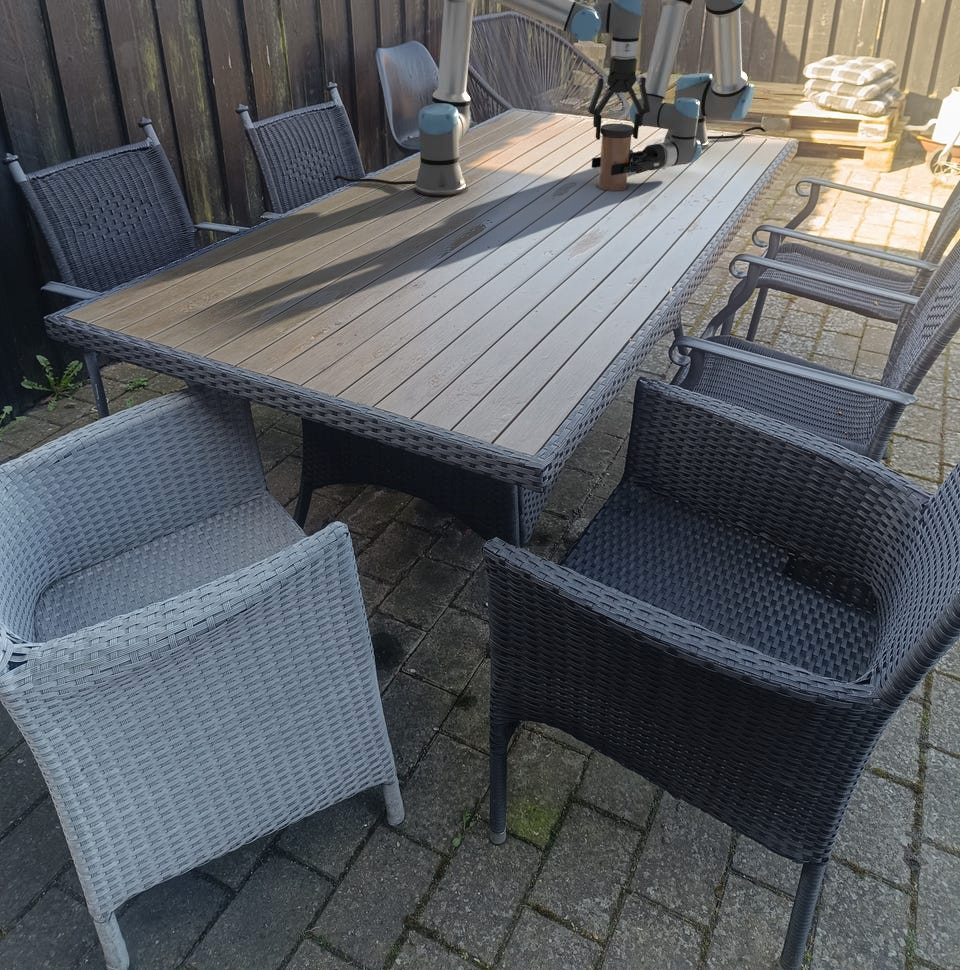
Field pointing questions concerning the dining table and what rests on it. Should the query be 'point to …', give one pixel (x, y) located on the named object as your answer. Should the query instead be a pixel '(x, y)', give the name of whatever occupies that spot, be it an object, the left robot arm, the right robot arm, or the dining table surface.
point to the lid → (617, 130)
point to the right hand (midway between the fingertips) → (602, 166)
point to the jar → (613, 162)
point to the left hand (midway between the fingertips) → (616, 138)
